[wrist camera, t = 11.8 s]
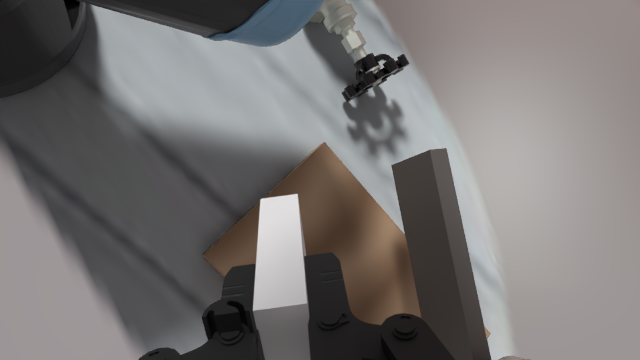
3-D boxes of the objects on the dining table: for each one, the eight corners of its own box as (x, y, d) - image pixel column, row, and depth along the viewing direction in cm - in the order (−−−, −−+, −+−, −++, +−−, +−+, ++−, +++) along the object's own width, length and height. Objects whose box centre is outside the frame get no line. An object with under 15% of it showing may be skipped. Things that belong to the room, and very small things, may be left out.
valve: (270, -2, 44) (334, 109, 44) (293, -46, 38) (368, 84, 38) (324, -23, 46) (384, 82, 47) (354, -67, 40) (423, 55, 41)
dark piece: (340, 181, 41) (450, 134, 27) (387, 175, 43) (511, 129, 29) (387, 439, 38) (535, 532, 24) (435, 421, 40) (596, 497, 26)
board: (202, 254, 37) (205, 254, 35) (318, 146, 42) (326, 140, 41) (398, 462, 40) (411, 470, 38) (482, 334, 46) (496, 337, 44)
